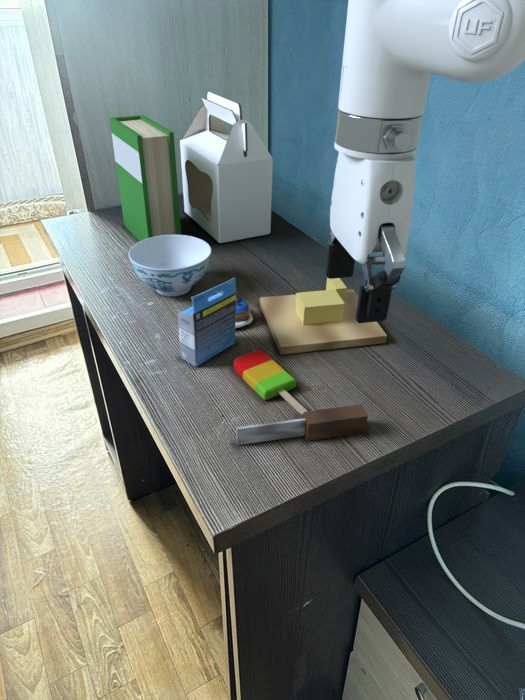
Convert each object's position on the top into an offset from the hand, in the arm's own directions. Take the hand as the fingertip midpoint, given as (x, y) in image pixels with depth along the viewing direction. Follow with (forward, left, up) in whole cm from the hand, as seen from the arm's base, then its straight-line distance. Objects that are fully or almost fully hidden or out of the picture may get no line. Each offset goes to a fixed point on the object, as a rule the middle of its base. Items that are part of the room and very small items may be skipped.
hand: (353, 297), depth 57 cm
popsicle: (+6, -10, -20) cm, 24 cm away
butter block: (-6, -26, -19) cm, 33 cm away
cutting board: (-6, -26, -20) cm, 34 cm away
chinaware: (+18, -43, -20) cm, 51 cm away
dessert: (+9, -30, -20) cm, 37 cm away
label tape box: (+14, -21, -20) cm, 33 cm away
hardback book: (+21, -69, -20) cm, 75 cm away
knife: (+5, 0, -20) cm, 21 cm away
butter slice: (-10, -31, -19) cm, 38 cm away
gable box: (+3, -74, -20) cm, 77 cm away
